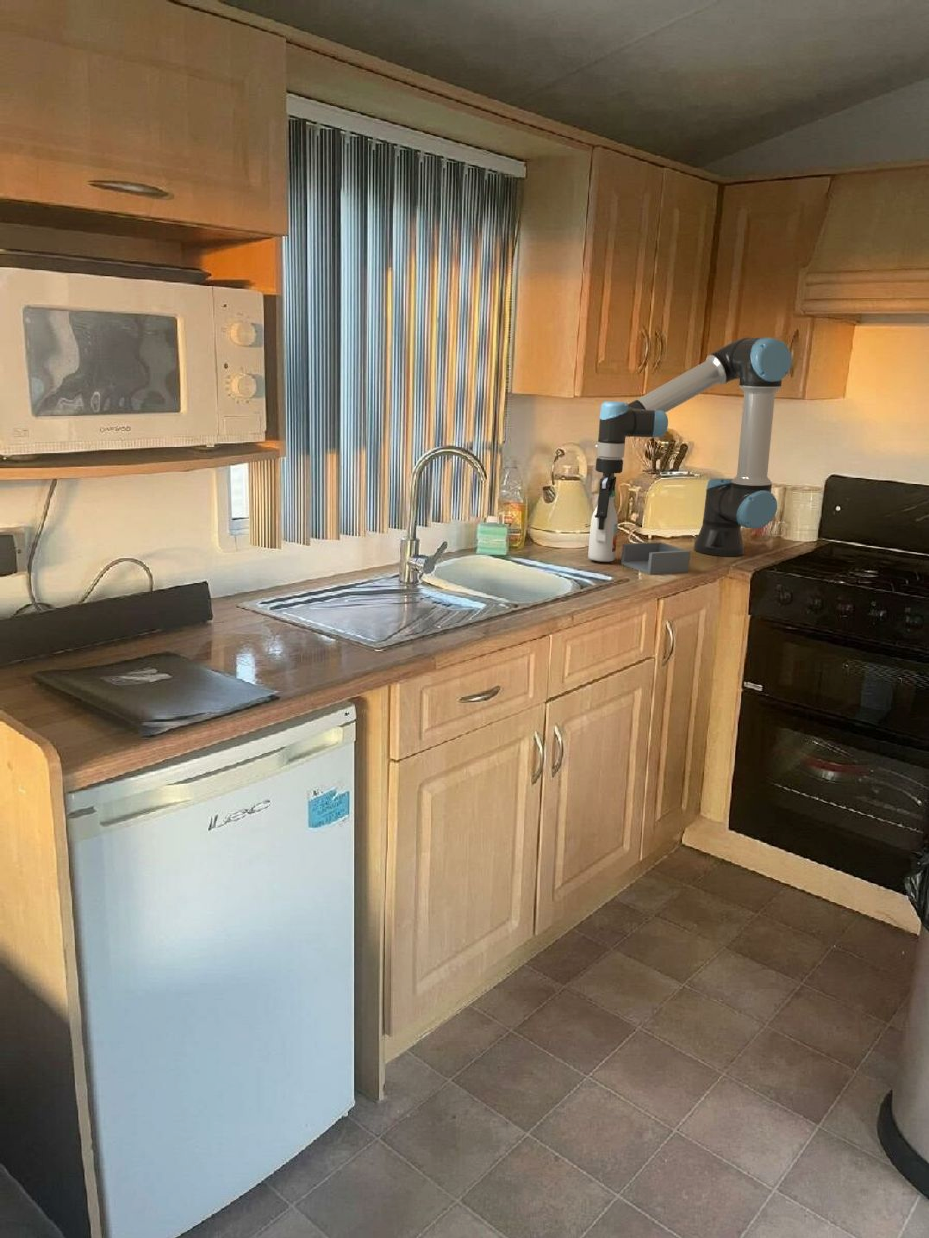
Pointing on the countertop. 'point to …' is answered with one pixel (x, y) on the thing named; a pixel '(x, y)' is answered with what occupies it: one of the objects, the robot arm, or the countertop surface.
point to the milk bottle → (608, 547)
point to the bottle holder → (655, 558)
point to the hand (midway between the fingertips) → (603, 538)
